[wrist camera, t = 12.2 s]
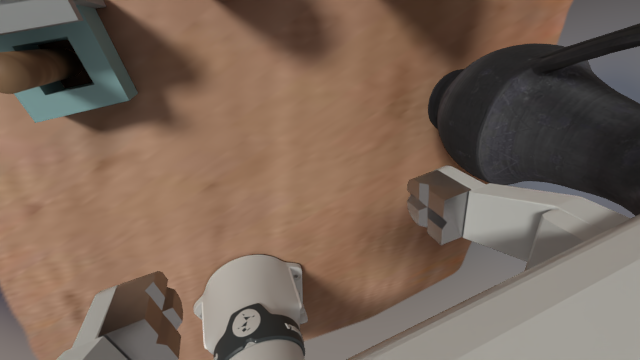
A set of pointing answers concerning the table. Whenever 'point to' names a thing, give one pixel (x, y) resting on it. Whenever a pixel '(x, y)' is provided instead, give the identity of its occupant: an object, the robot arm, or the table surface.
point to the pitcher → (544, 119)
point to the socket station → (88, 42)
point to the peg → (36, 68)
